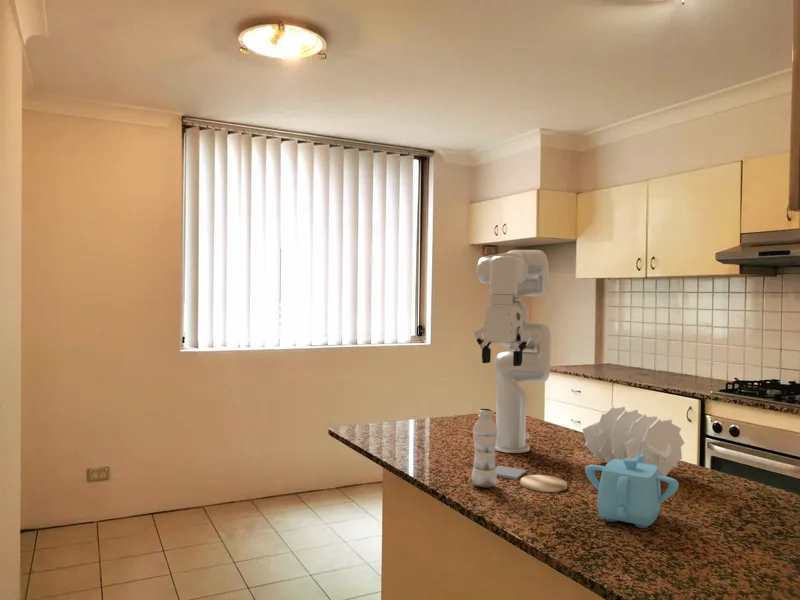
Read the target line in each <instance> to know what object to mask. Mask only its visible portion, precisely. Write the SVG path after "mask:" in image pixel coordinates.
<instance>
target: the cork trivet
mask: <svg viewBox="0 0 800 600" xmlns="http://www.w3.org/2000/svg"><path fill="white" fill-rule="evenodd" d="M520 485H521V486H522V487H524V488H525V489H528V490H531V491H535V492H541V493H542V492H543V493H559V492H560V493H561V492H564V491H566V490H567V489H568V482H567V481H566V480H565V479H562V478H559V477H556V476H551V475H543V474H528V475H525V476H523V477H522V476H521V477H520Z"/></svg>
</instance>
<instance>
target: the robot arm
mask: <svg viewBox="0 0 800 600" xmlns="http://www.w3.org/2000/svg"><path fill="white" fill-rule="evenodd" d="M476 277H477V280H478V281H479V283H481V284H483V285H484V284H485V285H489V295H488V296H489V297H488V298H489V299H488V300H489V301H488V306H487V307H486V309H485V310H486V311H485V315H484V322H483V327H482V328H480V329H478V330H475V332H474V333H473V335H474V336H475V338H476V342H477V343H478V345H479V347H480V349H481V362H482V364H490V363H491V358H492V357H491V355H492V354H491V352H492V349H491V347H490V346H491V345H492V344H494V343H496V344H501V345H502V347H503V348H504V349H506V350H507V351H501V352H499V353H498V354H497V355H496V356H495V358H494V371H495V379H496V380H495V382H496V383H495V384H496V402H495V403H496V405H495V406H496V407H495V408H496V409H495V425H496V427H497V430H498V431H497V439H496V446H495V452H496V451H497V452H499V453H500V452H501V453H506V454H507V453H508V454H522V453H527V452H530V450H531V445H529V444H528V443H526V440H527V439H530V438H531V437H530V436H531V435H530V433H529V432H526V426H527V423H526V422H527V394H526V391H525V389H524V388H523V387H522V385H521V384H520V382H522V383H523V382H528V383H529V382H530V383H544V382H547V381H548V379H549V377H550V373H551V371H550V370H551V349H552V348H551V344H552V343H551V341H552V340H551V339H552V338H551V337H552V336H551V335H552V334H551V330H550V328H549V326H548V325H547V324H545V323H541V322H529V319H530V318H529V315H530V311H529V309H528V308H527V306H526V305H525V304H524V303H523V301H522V297H543V296H546V295H547V293H548V292H549V290H550V289H549V288H550V272H549V261H548V257H547V254H546V253H545V252H544V251H543V250H541V249H540V250H539V249H513V250H509V251H507V252H504V253H498V254H491V255H485V256H482V257H481V258H480V259H479V260H478V262H477V265H476Z"/></svg>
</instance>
